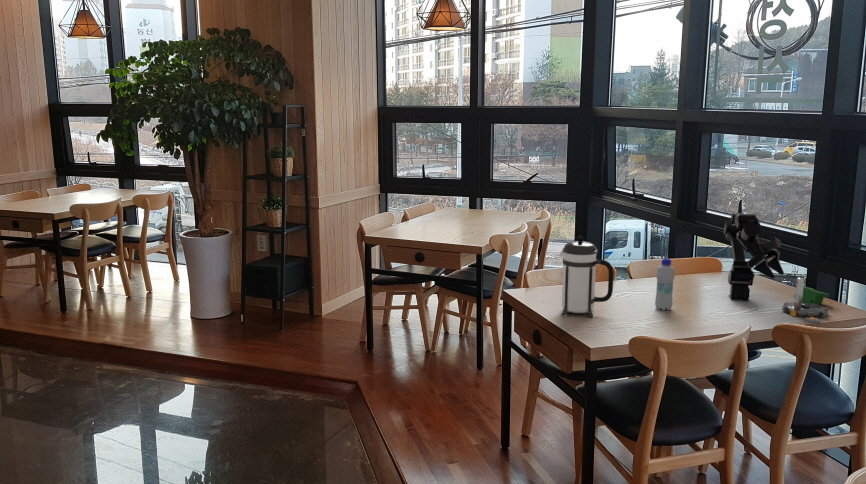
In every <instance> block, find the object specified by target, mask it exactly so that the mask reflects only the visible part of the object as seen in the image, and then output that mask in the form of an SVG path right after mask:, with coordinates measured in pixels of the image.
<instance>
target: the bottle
mask: <svg viewBox="0 0 866 484" xmlns="http://www.w3.org/2000/svg"><path fill="white" fill-rule="evenodd" d="M655 275H656V291H655V292H656V293H655V303H654V306H655V308H656V309H657V310H658V311H661V310H662V311H663V312H664V311H665V310H666V311H669V310H672V307H673V291H674V280H675V277H676V274H675V268H674V266H673V265H672V260H671V259H669V258H663V259H662V260H661V265H658V266H657V270H656V274H655Z"/></svg>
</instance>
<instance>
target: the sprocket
mask: <svg viewBox="0 0 866 484" xmlns="http://www.w3.org/2000/svg"><path fill="white" fill-rule="evenodd" d="M804 283H805V278H804V277H796V284H795V292H796V293H795V292H794V296H795V297H794V302H789V301H787V302H784V305H782V308H781V310H782V312H783V313H787V314H790V316H791V317H792V316H793V317H802V318H810V317H813V318H823V319H824V318H826V317H827V315H828V312H829V309H828V308H827V307H823V306H820V304H810V303H804V302H802V296H803V286H804V287H805V285H804Z"/></svg>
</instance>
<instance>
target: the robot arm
mask: <svg viewBox="0 0 866 484" xmlns="http://www.w3.org/2000/svg"><path fill="white" fill-rule="evenodd" d="M724 222H725V223H724V226H723V234H724V235H725V239H726V240H727V241H728V242H729V243H730V246H731V251H732V252H731V253H732V260H733V263H732V265H731V269H730V270H729V273H728V276H727V283H728V284H729V285H730V288H729V294H728V297H729V299H730V300H731V301H746V302H748V301H749V299H750V293H751V292H750V291H751V289H750V286H753V284H754V278H755V276H756V275H755V274H754V271H757V272H759V273H761V274H763V275H764V276H767V277H768V278H770V279H775V278H776V276H775V273H774V272H773V271H775V272H777V273H778V274H780V275H781V276H782V275H784V274H785V272H784V270H783V268H782V266H781V263H780V257H781V252H780V251H779V248H780V247H781V248H782V244H781V243H782V241H781V240H780V239H779V238H777V237H776V236H775V237H771V238H770V239H769V241H767V242H764V241H763V240H759V238H758V236H759V234H760V232H761V228H760V227H761V223H760V221H759V219H758V216H756V214H755V213H754V214H753V213H752V214H751V213H743V212H733V213H731V216H730V217H729V218H728V219H727V220H726V221H724ZM745 253H746V254H749V255H750V256H751V258H750V259H749V260H747V261H746V256H745ZM772 270H773V271H772Z"/></svg>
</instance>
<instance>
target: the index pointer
mask: <svg viewBox="0 0 866 484" xmlns="http://www.w3.org/2000/svg"><path fill="white" fill-rule="evenodd" d="M804 320H805V321H806V322H807V323H813V324H815V323H816V324H819V323H821V320H820V319H819V317H816V318H813V317H810V318H807V317H804Z"/></svg>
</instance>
